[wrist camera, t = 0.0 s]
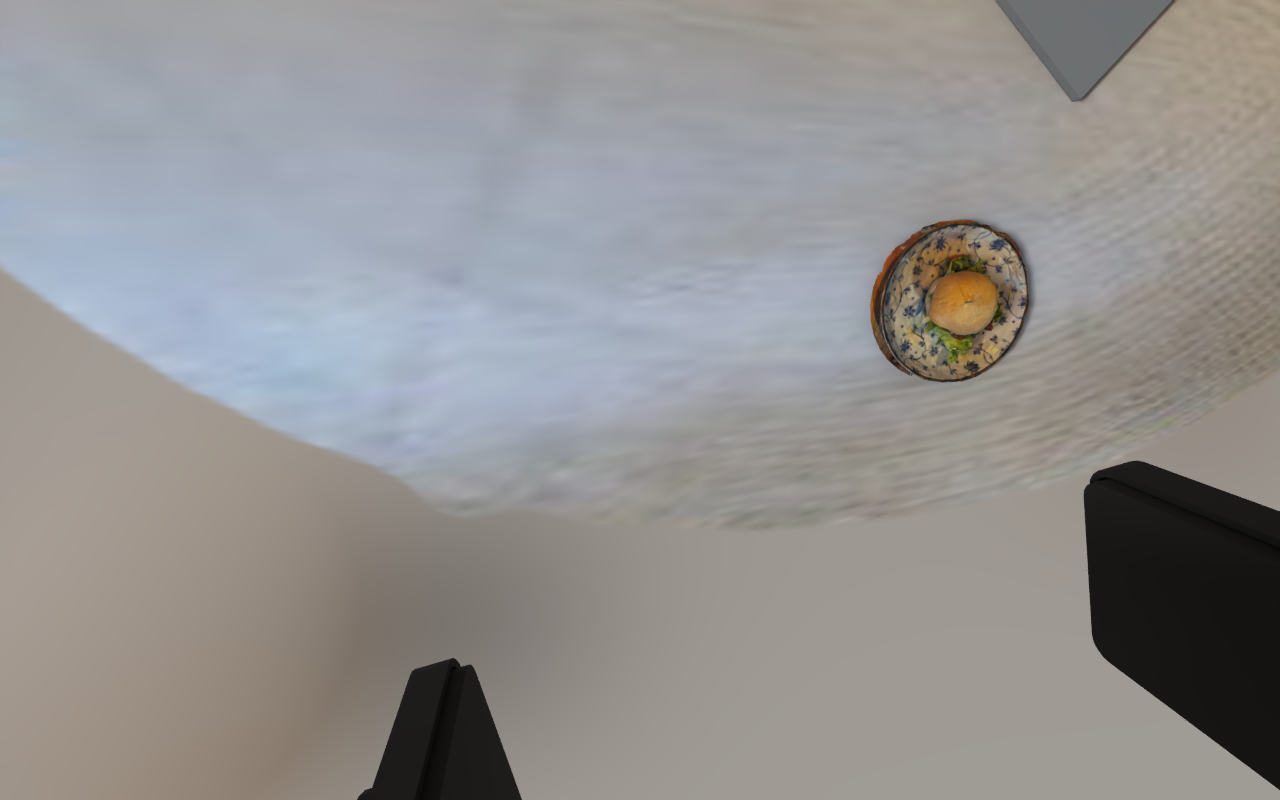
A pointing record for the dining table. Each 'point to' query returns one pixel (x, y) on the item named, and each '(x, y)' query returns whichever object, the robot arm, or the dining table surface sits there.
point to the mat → (1080, 34)
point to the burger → (950, 301)
